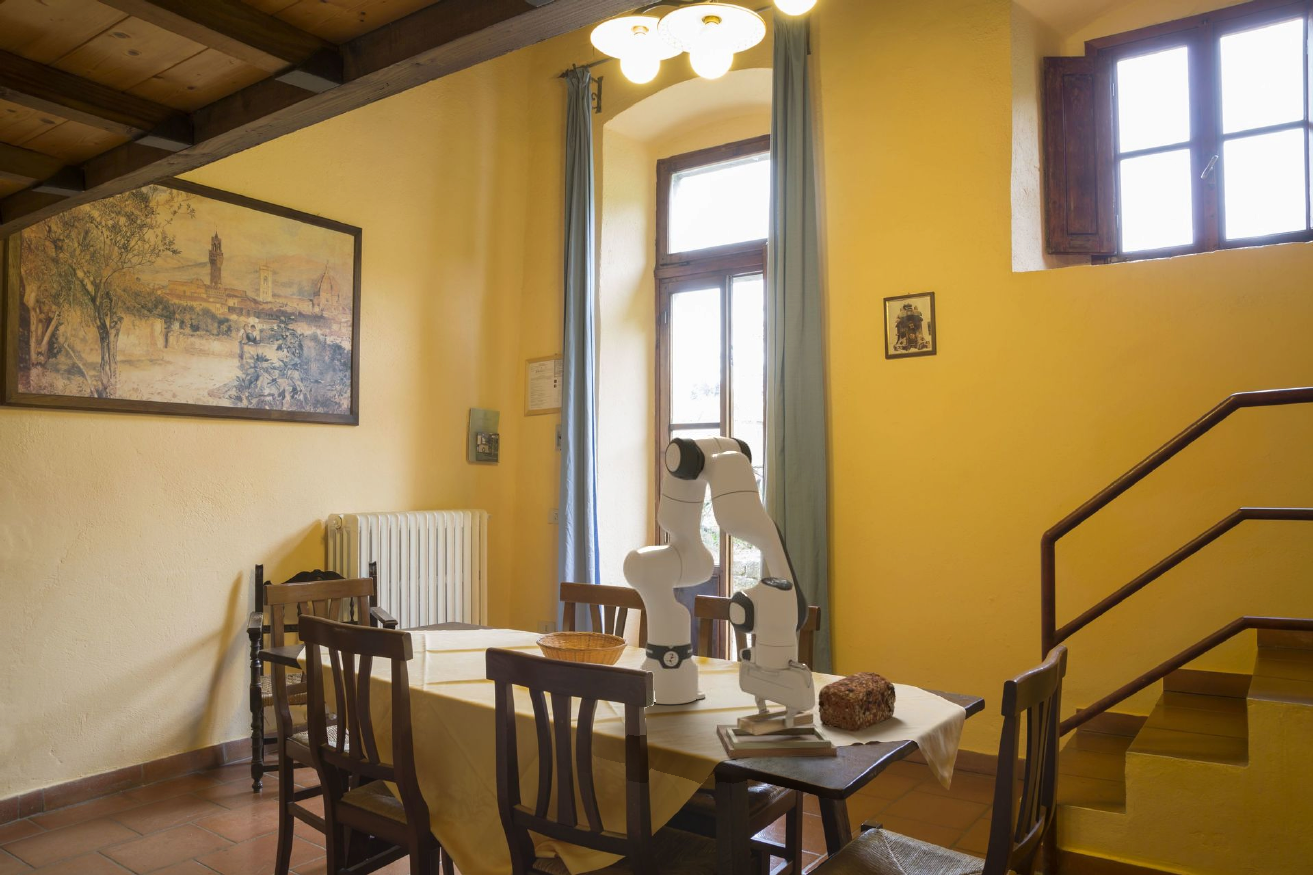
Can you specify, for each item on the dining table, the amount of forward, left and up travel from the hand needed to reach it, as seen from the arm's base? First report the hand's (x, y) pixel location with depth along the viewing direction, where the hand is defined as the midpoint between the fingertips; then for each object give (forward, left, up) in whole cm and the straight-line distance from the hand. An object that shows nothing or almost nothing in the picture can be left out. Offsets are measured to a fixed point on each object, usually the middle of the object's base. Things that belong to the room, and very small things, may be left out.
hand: (775, 722), depth 184 cm
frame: (0, 0, -1) cm, 1 cm away
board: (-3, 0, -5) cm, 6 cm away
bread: (-19, +24, -6) cm, 31 cm away
